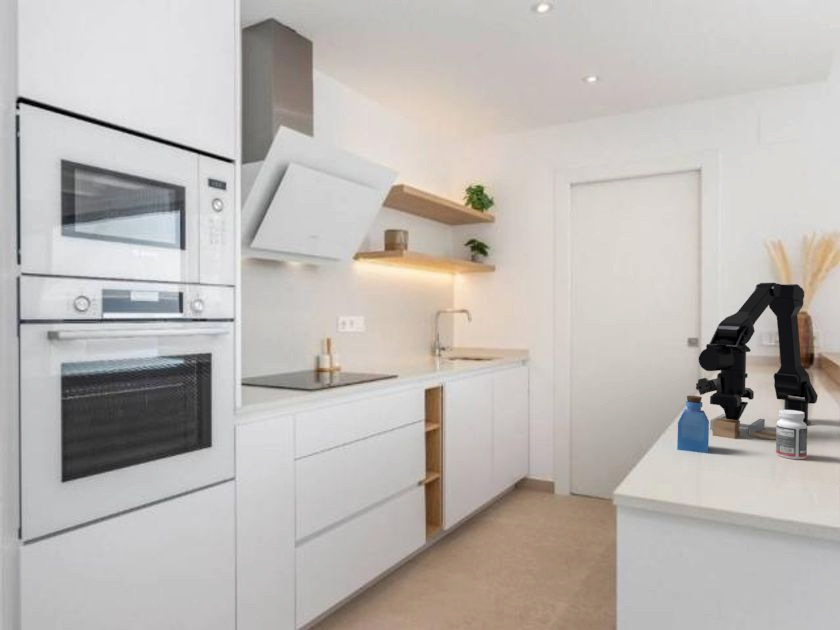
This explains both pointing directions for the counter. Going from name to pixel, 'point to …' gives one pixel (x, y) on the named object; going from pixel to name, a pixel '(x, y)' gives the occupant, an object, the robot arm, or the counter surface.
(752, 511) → the counter surface
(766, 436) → the coaster
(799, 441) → the pill bottle
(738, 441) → the counter surface
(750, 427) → the channel
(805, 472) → the counter surface
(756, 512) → the counter surface
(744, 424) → the trap tile
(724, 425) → the block
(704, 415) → the blue corked bottle
